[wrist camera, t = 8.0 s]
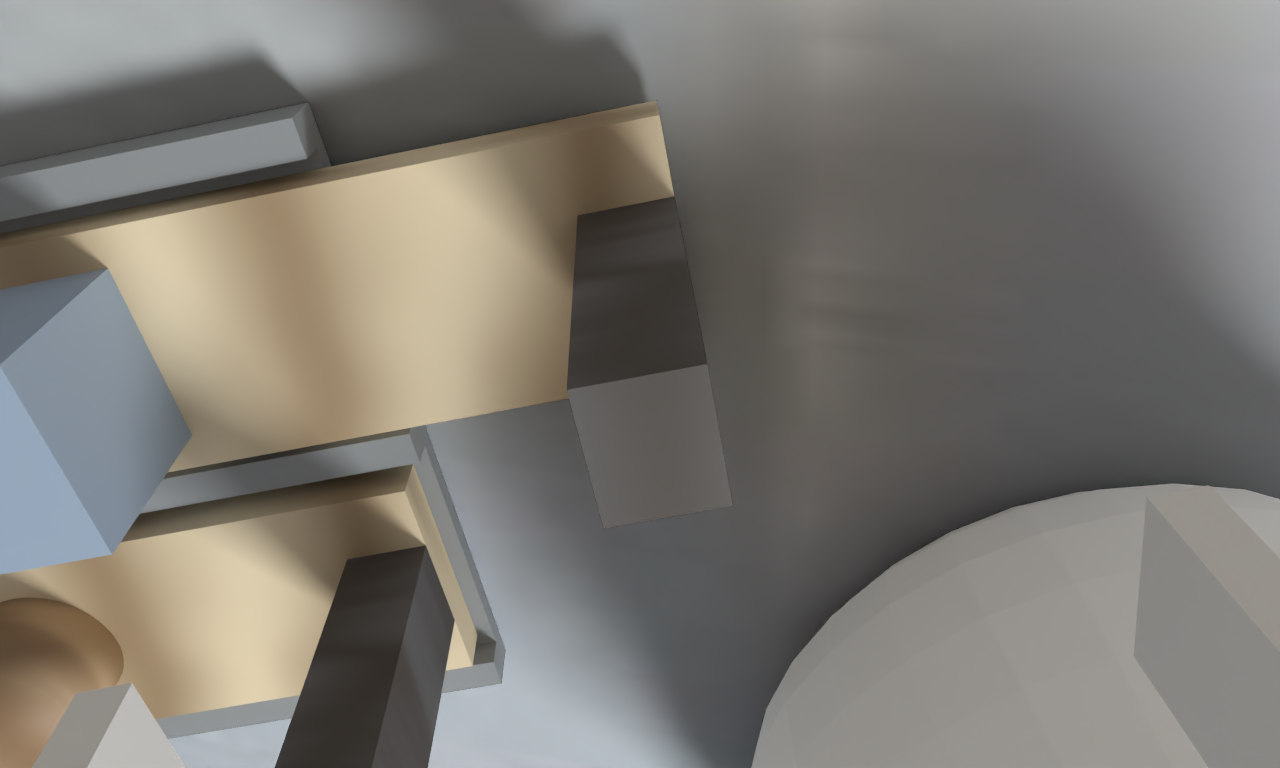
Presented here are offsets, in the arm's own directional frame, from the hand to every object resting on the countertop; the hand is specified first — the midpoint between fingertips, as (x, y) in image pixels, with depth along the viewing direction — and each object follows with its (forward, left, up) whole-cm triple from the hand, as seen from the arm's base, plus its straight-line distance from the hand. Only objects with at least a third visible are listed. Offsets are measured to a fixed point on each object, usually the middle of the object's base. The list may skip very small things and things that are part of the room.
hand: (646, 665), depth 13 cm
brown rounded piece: (-20, -9, -13) cm, 26 cm away
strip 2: (-18, -9, -16) cm, 25 cm away
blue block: (-15, 0, -13) cm, 20 cm away
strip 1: (-9, 0, -16) cm, 18 cm away
